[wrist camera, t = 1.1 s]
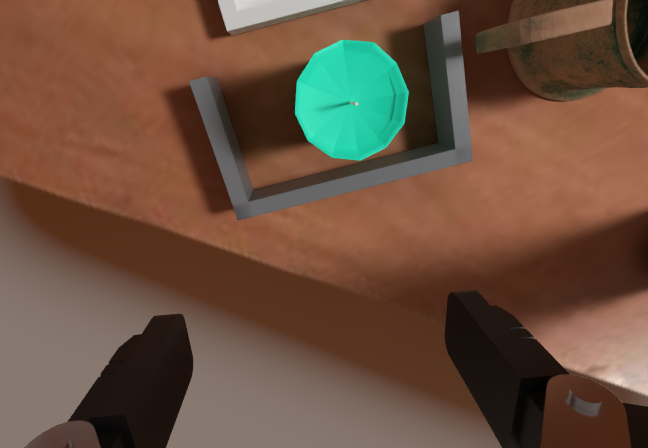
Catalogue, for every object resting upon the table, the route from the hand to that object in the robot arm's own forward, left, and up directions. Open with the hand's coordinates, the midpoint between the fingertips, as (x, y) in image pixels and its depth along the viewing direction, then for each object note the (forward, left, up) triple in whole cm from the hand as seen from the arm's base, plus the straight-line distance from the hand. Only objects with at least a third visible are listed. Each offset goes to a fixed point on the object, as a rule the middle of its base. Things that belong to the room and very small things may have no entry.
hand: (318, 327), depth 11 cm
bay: (-4, -4, -21) cm, 21 cm away
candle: (-4, -5, -21) cm, 22 cm away
